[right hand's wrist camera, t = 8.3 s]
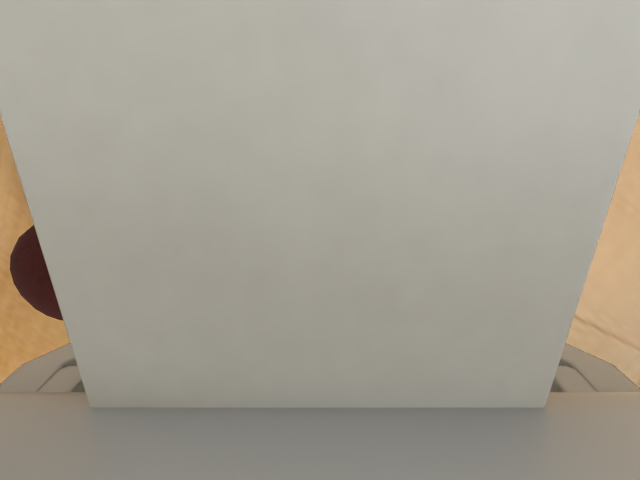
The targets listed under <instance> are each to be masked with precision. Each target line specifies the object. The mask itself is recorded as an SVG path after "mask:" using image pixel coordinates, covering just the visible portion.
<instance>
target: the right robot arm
mask: <svg viewBox="0 0 640 480" xmlns="http://www.w3.org/2000/svg"><path fill="white" fill-rule="evenodd" d="M0 480H640V388H639V387H638V386H637V385H635V384H634V383H633V382H632V381H631V380H630V379H629V378H628V377H626V376H625V375H624V374H623V373H622V372H621V371H620V370H619V369H618V368H616V367H615V366H614V365H613V364H610V363H608V362H606V361H604V360H602V359H599V358H597V357H595V356H593V355H591V354H588V353H586V352H584V351H582V350H579V349H577V348H575V347H573V346H571V345H568V344H566V343H565V346H564V349H563V352H562V355H561V358H560V361H559V364H558V368H557V371H556V374H555V377H554V380H553V383H552V386H551V389H550V393H549V396H548V399H547V402H546V405H545V407H543V408H92V407H90V405H89V401H88V398H87V395H86V392H85V388H84V385H83V382H82V379H81V375H80V372H79V369H78V366H77V362H76V359H75V356H74V353H73V350H72V346H71V343H69V344H67V345H65V346H63V347H60V348H58V349H56V350H54V351H51V352H49V353H47V354H45V355H42V356H40V357H38V358H36V359H33V360H31V361H29V362H27V363H24V364H22V365H21V366H20V367H19V368H18V369H17V370H15V371H14V372H13V373H12V374H11V375H10V376H9V377H7V378H6V379H5V380H4V381H3V382H2V383H1V384H0Z"/></svg>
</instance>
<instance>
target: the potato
mask: <svg viewBox="0 0 640 480" xmlns="http://www.w3.org/2000/svg"><path fill="white" fill-rule="evenodd" d="M10 271H11V275H12V278H13V282H14V284H15V286H16V288H17V289H18V291H19V293H20V294H21V296H22V297H23V298H25V299H26V300H27V301H28V302H29V303H30V304H31V305H32V306H33V307H34V308H35V309H37V310H38V311H40V312H42V313H44V314H45V315H47V316H50V317H53V318H56V319H59V320H63V317H62V314H61V311H60V307H59V304H58V301H57V298H56V294H55V291H54V288H53V285H52V281H51V278H50V275H49V272H48V269H47V265H46V262H45V259H44V256H43V252H42V249H41V246H40V243H39V239H38V236H37V233H36V230H35V226H34V225H33V226H32V227H31V228H30V229H28V230H27V231H26V232H25V233H24V234H23V235H22V236H20V237H19V239H18V241H17V243H16V245H15V247H14V249H13V252H12V254H11V258H10ZM63 321H64V320H63Z"/></svg>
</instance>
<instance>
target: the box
mask: <svg viewBox="0 0 640 480" xmlns="http://www.w3.org/2000/svg"><path fill="white" fill-rule="evenodd" d="M639 112H640V0H0V116H1V120H2V123H3V126H4V129H5V132H6V136H7V139H8V142H9V145H10V149H11V152H12V155H13V158H14V162H15V165H16V168H17V171H18V175H19V178H20V181H21V184H22V188H23V191H24V194H25V197H26V201H27V204H28V207H29V210H30V213H31V217H32V220H33V223H34V226H35V230H36V233H37V236H38V239H39V243H40V246H41V249H42V252H43V256H44V259H45V262H46V265H47V269H48V272H49V275H50V278H51V281H52V285H53V288H54V291H55V294H56V298H57V301H58V304H59V307H60V311H61V314H62V317H63V320H64V324H65V327H66V330H67V333H68V337H69V340H70V343H71V346H72V350H73V353H74V356H75V359H76V362H77V366H78V369H79V372H80V375H81V379H82V382H83V385H84V388H85V392H86V395H87V398H88V401H89V405H90V407H92V408H543V407H545V405H546V402H547V399H548V396H549V393H550V389H551V386H552V383H553V380H554V377H555V374H556V371H557V368H558V364H559V361H560V358H561V355H562V352H563V349H564V346H565V343H566V340H567V336H568V333H569V330H570V327H571V324H572V321H573V318H574V315H575V311H576V308H577V305H578V302H579V299H580V296H581V293H582V290H583V286H584V283H585V280H586V277H587V274H588V271H589V268H590V265H591V262H592V258H593V255H594V252H595V249H596V246H597V243H598V240H599V237H600V233H601V230H602V227H603V224H604V221H605V218H606V215H607V212H608V209H609V205H610V202H611V199H612V196H613V193H614V190H615V187H616V184H617V180H618V177H619V174H620V171H621V168H622V165H623V162H624V159H625V155H626V152H627V149H628V146H629V143H630V140H631V137H632V134H633V131H634V127H635V124H636V121H637V118H638V115H639Z"/></svg>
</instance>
